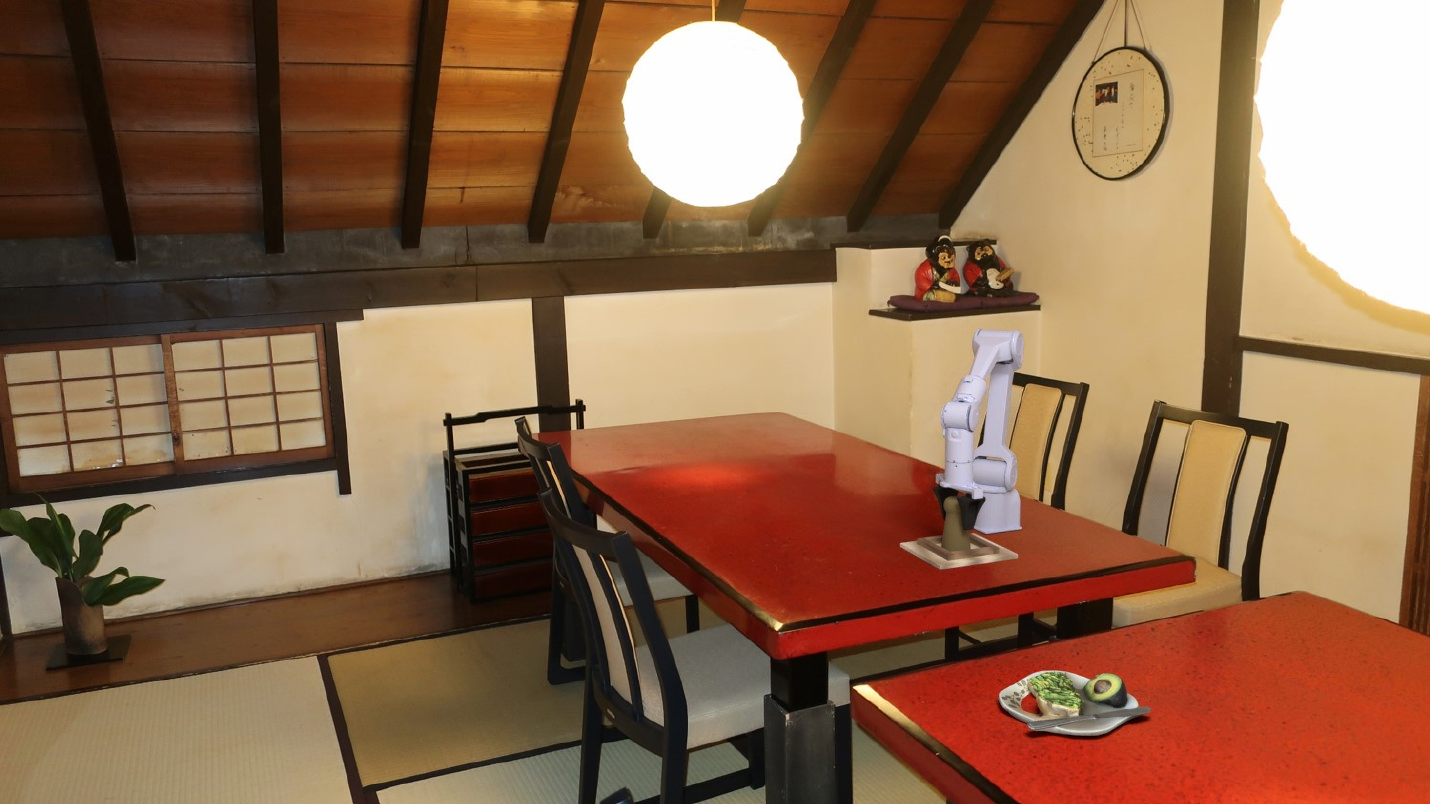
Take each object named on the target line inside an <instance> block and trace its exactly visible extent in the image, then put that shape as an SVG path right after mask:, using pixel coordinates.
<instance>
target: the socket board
mask: <svg viewBox="0 0 1430 804" xmlns="http://www.w3.org/2000/svg"><path fill="white" fill-rule="evenodd" d="M969 537H970V546H971V549H968V550H961V551H954V552H950V551H948V550H946V549H944V548H942V547H941V544H942V538H943V534H942V535H934V536H933V535H932V536H926V537H919V538H917V540H914V541H912V540H911V541H907V542H900V543H899V548H902V549H903V550H904V551H906V552H908V553H910V554H912V555H913V556H916V557H917V558H919V559H921V560H922V561H924V562H926V563H928V564H929V565H931V566H933V567H934V568H936V569H938V570H947V569H948V570H949V569H953V568H962V567H968V566H976V565H982V564H989V563H995V562H1002V561H1008V560H1017V559H1019V554H1018V553H1016V552H1015V551H1014V552H1013V551H1011V550H1010V549H1007V548H1006V547H1003V546H1001V545H999V544H997V543H996V542H993V541H991V540H989V539H987V538H985V537H983V536H981V535H979V534H977V533H975V532H974V533H973V532H972V533H971V532H969Z"/></svg>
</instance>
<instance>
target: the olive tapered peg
mask: <svg viewBox="0 0 1430 804" xmlns="http://www.w3.org/2000/svg"><path fill="white" fill-rule="evenodd" d="M957 497H960V495H957V496H950V497H947V498H946V499H945V501H944V510H945V511H946V518H945V521H944V526H943V533H942V535H943V538H942V544H941V547H942V548H944V549H946V550H948V551H950V552H954V551H961V550H968V549H971V546H970V537H969V533H970V530H967V531H965V530H963V527H962V516H961V510H960V506H959V503H958V501H957Z"/></svg>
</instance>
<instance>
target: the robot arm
mask: <svg viewBox="0 0 1430 804" xmlns="http://www.w3.org/2000/svg"><path fill="white" fill-rule="evenodd" d="M971 340H972V341H971V343H972V344H971V346H972V347H971V349H972V352H973V357H974V359H973V360H972V364H971V368H970V370H969V373H968V375H964V376H963V377H962V378H961V379H960V381H959V384H958V386H957V388H956V390H955V392H954V394H953V396H952V398H951V400H949V401H948V402H947V403H946V402H945V403H944V404H943V406H942V408H941V412H940V425H941V426H940V427H941V428H942V437H943V438H944V472H942V473H936V474H935V483H936V484H938V485H937V486H932V491H933V492H934V495H935V496H936V499H937V502H938V505H939V508H940V513H941V518H942V520H943V521H944V522H945V518H946V511H945V510H944V501H945V499H946V498H947V497H950V496H960V495H959V493H960V492H961V493H962V494H965V495H961V496H960V497H957V501H958V503H959V506H960V510H961V516H962V527H963V530H965V531H967V530H969V531H974V530H976V531H978V532H980V533H983V534H984V535H989V534H997V533H1003V532H1004V533H1005V532H1011V531H1018V530H1023V527H1022V526H1021V498H1020V493H1019V492H1018V490H1017V489H1016V488H1015V487H1016V484H1017V481H1018V475H1019V474H1018V473H1019V472H1018V470H1019V469H1018V457H1017V455H1016V453H1014V452H1013V451H1012V450H1011V449H1010V448H1009V447H1008V446H1007V437H1008V426H1009V417H1010V410H1011V409H1010V408H1011V397H1012V388H1013V381H1014V374H1015V372H1016V371H1018V370H1020V369H1022V366H1023V365H1022V364H1023V362H1024V352H1025V351H1024V350H1025V339H1024V335H1023V333H1022V331H1021V330H1019V329H1015V330H1011V329H1010V330H1005V329H985V328H978V329H976V330H975V332H974V333H973V336H972V339H971ZM988 378H989V387H988V384H987V379H988ZM987 391H988V395H987V402H986V404H987V405H986V413H985V421H984V432H983V433H984V434H983V439H982V440H983V442H982V444H981V445H979V446H978V447H976V448H975V431H976V430H977V428H978V425H979V424H980V423H979V422H980V416H981V415H980V414H981V405H982V402H983V401H984V399H985V396H986V394H987ZM989 458H994V459H989ZM999 459H1003V460H999Z"/></svg>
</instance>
